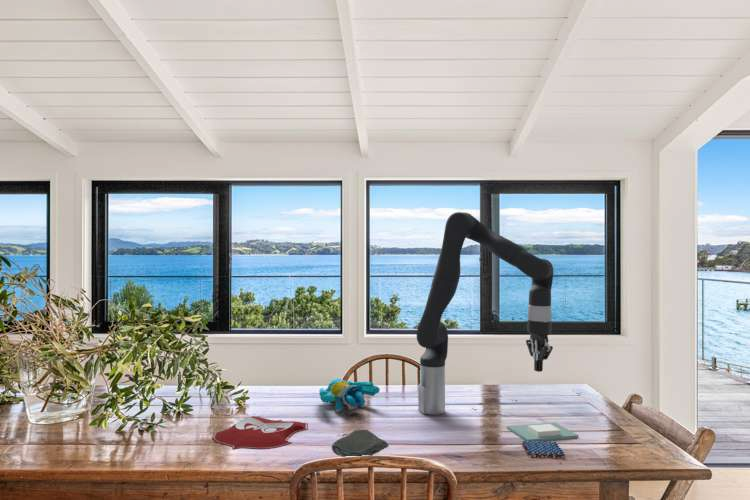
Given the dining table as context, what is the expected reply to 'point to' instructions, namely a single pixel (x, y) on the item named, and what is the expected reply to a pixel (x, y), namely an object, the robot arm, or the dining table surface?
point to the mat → (528, 436)
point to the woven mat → (542, 449)
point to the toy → (347, 393)
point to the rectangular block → (544, 430)
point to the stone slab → (359, 444)
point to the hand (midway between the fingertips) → (538, 371)
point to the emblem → (259, 433)
